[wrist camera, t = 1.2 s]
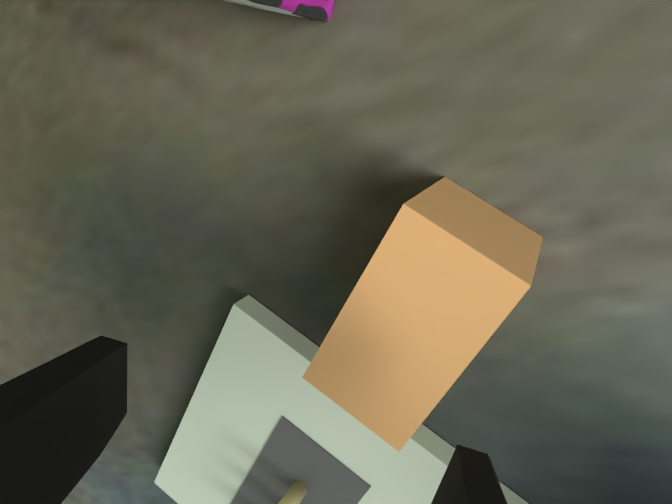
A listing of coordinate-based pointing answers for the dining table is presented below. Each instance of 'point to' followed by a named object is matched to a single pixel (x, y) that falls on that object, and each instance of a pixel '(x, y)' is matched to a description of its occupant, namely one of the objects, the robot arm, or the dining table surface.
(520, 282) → the block
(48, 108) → the dining table surface
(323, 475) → the board
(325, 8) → the candy bar box
